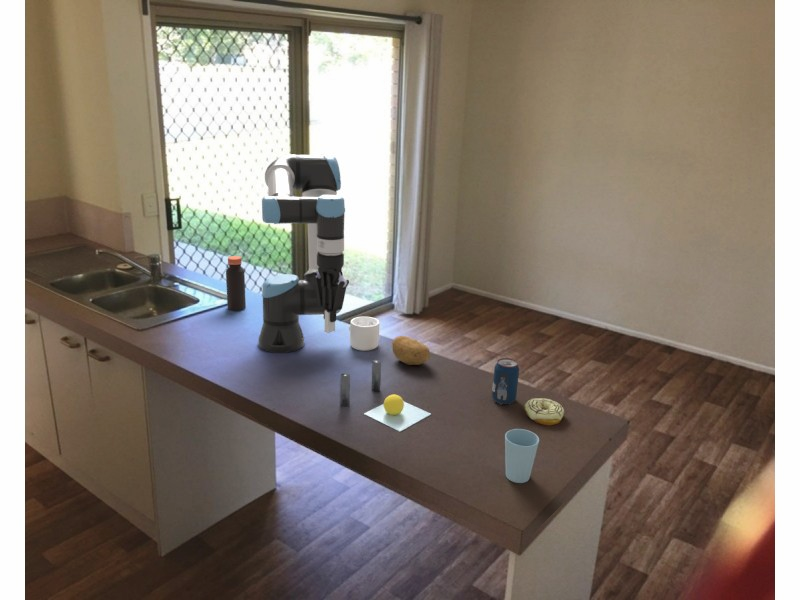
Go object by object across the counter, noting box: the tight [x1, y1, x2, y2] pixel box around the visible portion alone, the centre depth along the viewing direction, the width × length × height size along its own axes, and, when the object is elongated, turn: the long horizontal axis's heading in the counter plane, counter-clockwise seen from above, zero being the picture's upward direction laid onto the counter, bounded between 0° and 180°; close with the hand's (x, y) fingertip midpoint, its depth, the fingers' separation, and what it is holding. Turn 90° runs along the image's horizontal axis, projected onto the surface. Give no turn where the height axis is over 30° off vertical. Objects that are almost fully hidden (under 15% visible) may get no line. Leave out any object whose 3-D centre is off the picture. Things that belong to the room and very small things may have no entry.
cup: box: [504, 428, 540, 484], centre depth 151 cm, size 8×8×10 cm
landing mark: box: [363, 400, 432, 433], centre depth 178 cm, size 13×13×1 cm
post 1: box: [339, 372, 351, 408], centre depth 180 cm, size 3×3×9 cm
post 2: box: [370, 359, 382, 393], centre depth 189 cm, size 3×3×9 cm
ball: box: [383, 393, 405, 415], centre depth 177 cm, size 6×6×6 cm
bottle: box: [225, 255, 247, 312], centre depth 247 cm, size 7×7×20 cm
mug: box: [348, 316, 381, 352], centre depth 220 cm, size 12×10×9 cm
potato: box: [391, 335, 431, 366], centre depth 208 cm, size 10×14×8 cm
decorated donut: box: [524, 397, 565, 426], centre depth 180 cm, size 10×11×4 cm
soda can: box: [491, 357, 520, 405], centre depth 186 cm, size 7×7×12 cm
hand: (329, 331), depth 189 cm, fingers closed
